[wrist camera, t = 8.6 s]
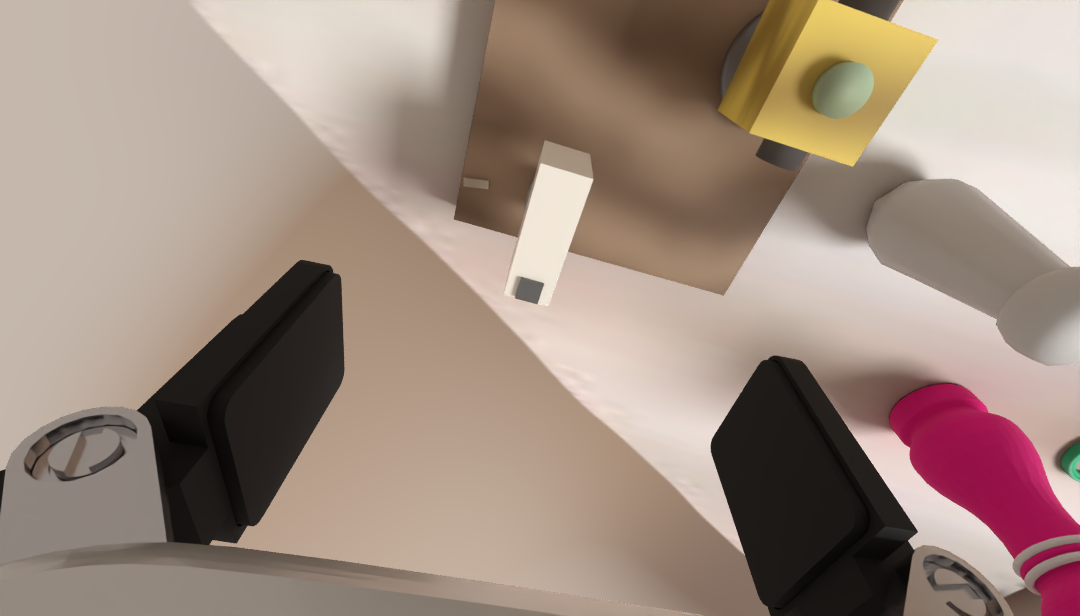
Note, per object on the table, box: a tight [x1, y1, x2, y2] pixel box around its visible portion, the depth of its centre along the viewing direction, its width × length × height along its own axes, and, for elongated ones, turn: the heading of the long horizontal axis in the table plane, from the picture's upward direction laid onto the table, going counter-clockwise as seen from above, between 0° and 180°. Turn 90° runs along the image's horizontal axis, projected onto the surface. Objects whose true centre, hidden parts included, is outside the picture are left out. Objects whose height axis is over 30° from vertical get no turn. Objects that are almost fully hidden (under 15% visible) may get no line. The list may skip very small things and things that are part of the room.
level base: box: [454, 0, 938, 295], centre depth 21 cm, size 26×19×9 cm
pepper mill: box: [889, 384, 1080, 616], centre depth 30 cm, size 7×7×20 cm
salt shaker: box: [866, 179, 1080, 366], centre depth 24 cm, size 6×6×13 cm
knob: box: [504, 140, 593, 306], centre depth 24 cm, size 7×3×7 cm, turn 164°
